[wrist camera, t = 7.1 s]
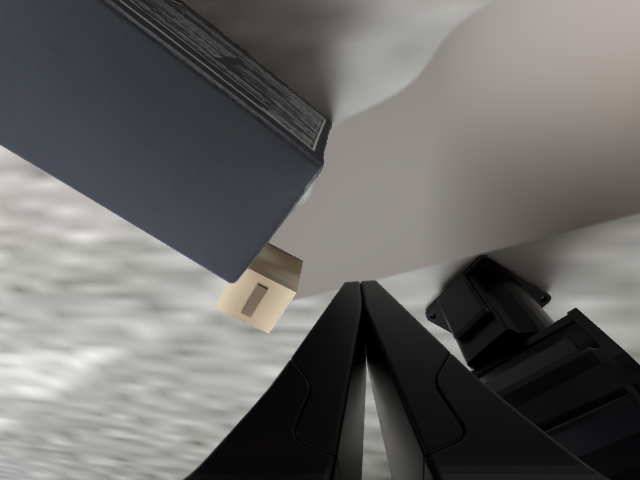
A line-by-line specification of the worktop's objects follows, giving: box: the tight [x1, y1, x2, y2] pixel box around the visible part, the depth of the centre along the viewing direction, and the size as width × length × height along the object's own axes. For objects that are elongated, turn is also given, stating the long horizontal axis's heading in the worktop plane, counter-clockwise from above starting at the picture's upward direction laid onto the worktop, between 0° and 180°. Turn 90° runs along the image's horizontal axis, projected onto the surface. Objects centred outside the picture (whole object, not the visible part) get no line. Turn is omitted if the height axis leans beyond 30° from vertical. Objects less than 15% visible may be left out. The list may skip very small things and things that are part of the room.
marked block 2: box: [215, 243, 303, 333], centre depth 22 cm, size 4×4×4 cm
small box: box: [0, 0, 332, 284], centre depth 14 cm, size 11×6×10 cm, turn 53°
